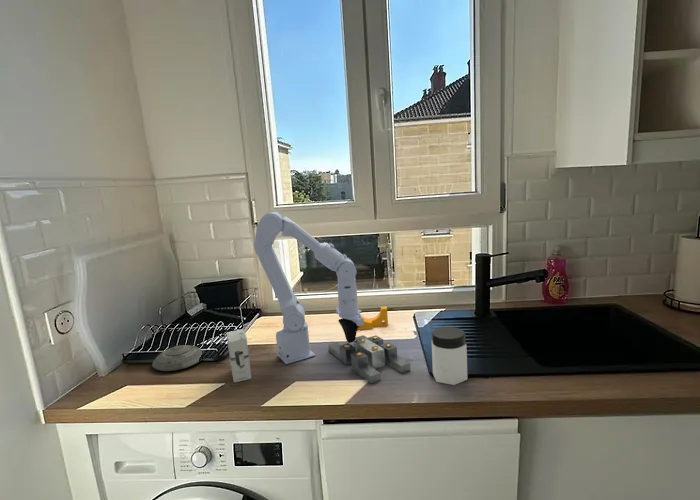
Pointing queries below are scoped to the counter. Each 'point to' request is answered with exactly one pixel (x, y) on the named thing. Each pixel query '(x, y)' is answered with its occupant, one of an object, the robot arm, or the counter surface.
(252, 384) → the counter surface
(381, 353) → the block with brass knobs
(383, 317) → the pipe clamp
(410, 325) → the counter surface
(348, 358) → the chain end
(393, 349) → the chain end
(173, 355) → the flying saucer
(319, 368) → the counter surface
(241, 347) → the ink box
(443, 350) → the jar
